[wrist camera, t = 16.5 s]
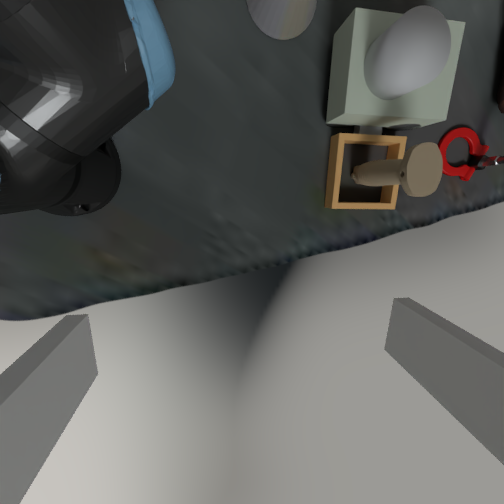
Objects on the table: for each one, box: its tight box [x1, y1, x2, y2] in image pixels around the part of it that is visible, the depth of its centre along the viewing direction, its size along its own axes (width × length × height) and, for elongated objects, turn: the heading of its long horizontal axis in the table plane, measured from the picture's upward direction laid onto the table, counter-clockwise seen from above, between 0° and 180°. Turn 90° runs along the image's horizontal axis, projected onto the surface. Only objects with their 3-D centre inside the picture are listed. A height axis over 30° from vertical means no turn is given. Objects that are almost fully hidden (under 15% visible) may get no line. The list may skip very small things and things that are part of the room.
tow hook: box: [438, 127, 504, 181], centre depth 41 cm, size 8×13×9 cm
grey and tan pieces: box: [325, 5, 465, 209], centre depth 37 cm, size 16×26×13 cm, turn 179°
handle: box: [351, 142, 443, 197], centre depth 38 cm, size 5×6×15 cm
